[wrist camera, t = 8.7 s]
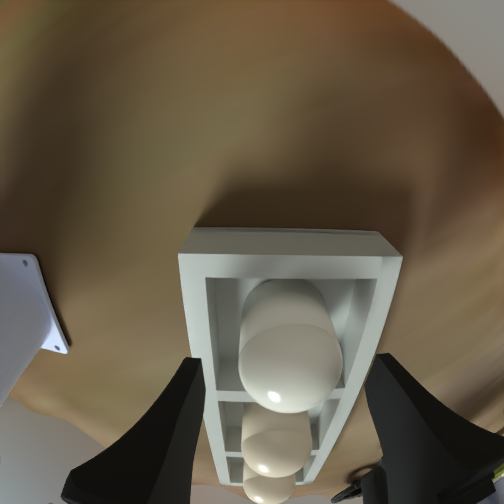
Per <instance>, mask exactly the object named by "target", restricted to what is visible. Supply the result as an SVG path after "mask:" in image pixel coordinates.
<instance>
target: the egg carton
mask: <svg viewBox="0 0 504 504" xmlns="http://www.w3.org/2000/svg"><path fill="white" fill-rule="evenodd" d="M402 259H403V256H402V255H401V254H400V253H399V252H398V251H397V250H396V249H395V248H394V247H393V246H392V245H391V244H390V243H389V242H388V241H387V240H386V239H385V238H384V237H383V236H382V235H381V234H380V233H379V232H378V231H363V230H336V229H302V228H252V227H193V228H192V230H191V232H190V233H189V235H188V237H187V239H186V240H185V242H184V244H183V245H182V247H181V249H180V251H179V252H178V260H179V269H180V278H181V286H182V294H183V301H184V309H185V316H186V323H187V329H188V336H189V342H190V348H191V354H192V358H201V360H202V367H203V373H204V380H205V386H206V396H205V406H204V413H203V416H204V421H205V425H206V429H207V434H208V438H209V442H210V446H211V450H212V454H213V458H214V462H215V466H216V470H217V474H218V477H219V481H220V485H233V486H243V488H244V491H245V493H246V495H247V496H248V497H249V498H250V499H251V500H253V501H254V502H256V503H258V504H279V503H281V502H283V501H285V500H287V499H288V498H289V497H290V496H291V495H292V493H293V491H294V489H295V485H301V484H312V482H313V481H314V479H315V477H316V476H317V474H318V472H319V471H320V469H321V467H322V465H323V464H324V462H325V460H326V458H327V457H328V455H329V453H330V451H331V449H332V447H333V445H334V444H335V442H336V440H337V438H338V436H339V434H340V432H341V430H342V428H343V426H344V424H345V422H346V420H347V418H348V415H349V413H350V411H351V409H352V407H353V405H354V402H355V400H356V398H357V396H358V393H359V391H360V389H361V386H362V384H363V381H364V379H365V376H366V374H367V371H368V369H369V366H370V364H371V361H372V358H373V356H374V353H375V350H376V348H377V345H378V342H379V339H380V336H381V333H382V330H383V327H384V324H385V321H386V318H387V315H388V311H389V308H390V305H391V301H392V298H393V294H394V291H395V287H396V283H397V279H398V275H399V271H400V267H401V263H402ZM271 279H302V280H305V281H307V282H309V283H311V284H312V285H314V286H315V287H316V288H317V289H318V290H319V291H320V292H321V294H322V296H323V298H324V300H325V303H326V306H327V309H328V312H329V315H330V317H331V320H332V323H333V326H334V329H335V332H336V335H337V338H338V341H339V344H340V347H341V352H342V361H343V363H342V372H341V376H340V379H339V381H338V383H337V385H336V387H335V389H334V390H333V392H332V393H331V394H330V395H329V396H328V397H327V398H326V399H325V400H324V401H323V402H322V403H320V404H319V405H317V406H316V407H314V408H312V409H309V410H307V411H303V412H299V413H279V412H275V411H272V410H269V409H267V408H265V407H263V406H261V405H260V404H258V403H257V402H256V401H254V400H253V399H252V398H251V397H250V395H249V394H248V393H247V391H246V390H245V388H244V386H243V384H242V382H241V379H240V376H239V370H238V358H239V343H240V330H241V316H242V307H243V303H244V301H245V299H246V297H247V296H248V294H249V293H250V292H251V291H252V290H253V289H254V288H255V287H257V286H258V285H260V284H262V283H263V282H266V281H268V280H271Z"/></svg>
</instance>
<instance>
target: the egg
mask: <svg viewBox="0 0 504 504" xmlns="http://www.w3.org/2000/svg"><path fill="white" fill-rule="evenodd" d="M342 363H343V361H342V352H341V347H340V344H339V341H338V338H337V335H336V332H335V329H334V326H333V323H332V320H331V317H330V315H329V312H328V309H327V306H326V303H325V300H324V298H323V296H322V294H321V292H320V291H319V290H318V289H317V288H316V287H315V286H314V285H312V284H311V283H309V282H307V281H305V280H302V279H271V280H268V281H266V282H263V283H262V284H260V285H258V286H257V287H255V288H254V289H253V290H252V291H251V292H250V293H249V294H248V296H247V297H246V299H245V301H244V303H243V307H242V316H241V330H240V343H239V358H238V370H239V376H240V379H241V382H242V384H243V386H244V388H245V390H246V391H247V393H248V394H249V395H250V397H251V398H252V399H253V400H254V401H256V402H257V403H258V404H260V405H261V406H263V407H265V408H267V409H269V410H272V411H275V412H279V413H299V412H303V411H307V410H309V409H312V408H314V407H316V406H317V405H319V404H320V403H322V402H323V401H324V400H325V399H326V398H327V397H328V396H329V395H330V394H331V393H332V392H333V390H334V389H335V387H336V385H337V383H338V381H339V379H340V376H341V372H342Z"/></svg>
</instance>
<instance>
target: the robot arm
mask: <svg viewBox="0 0 504 504" xmlns="http://www.w3.org/2000/svg"><path fill="white" fill-rule="evenodd" d="M26 261H27V262H26ZM40 348H44V349H48V350H52V351H56V352H60V353H64V354H67V353H68V351H69V346H68V344H67V341H66V339H65V337H64V334H63V332H62V330H61V327H60V325H59V322H58V320H57V317H56V315H55V312H54V309H53V307H52V304H51V301H50V298H49V296H48V293H47V290H46V287H45V284H44V281H43V277H42V274H41V271H40V267H39V264H38V261H37V258H36V257H35V256H34V255H33V254H18V253H0V407H1V406H2V404H3V402H4V401H5V399H6V398H7V396H8V394H9V393H10V391H11V390H12V388H13V387H14V385H15V384H16V382H17V381H18V379H19V378H20V376H21V375H22V373H23V372H24V370H25V369H26V367H27V366H28V365H29V363H30V362H31V360H32V359H33V358H34V356H35V355H36V353H37V352H38V351H39V349H40ZM364 387H365V392H366V398H367V402H368V407H369V410H370V413H371V416H372V419H373V422H374V425H375V428H376V431H377V434H378V437H379V441H380V444H381V447H382V451H383V456H384V462H385V469H386V477H387V486H388V504H504V477H502V478H501V479H499V480H498V481H496V482H495V483H493V481H492V479H494V478H495V474H494V472H493V471H495V470H496V469H497V468H498V467H500V466H501V465H502V464H503V463H504V436H501V435H498V434H495V433H492V432H490V431H487V430H485V429H483V428H481V427H479V426H477V425H475V424H473V423H471V422H469V421H467V420H466V419H464V418H462V417H461V416H459V415H458V414H456V413H455V412H453V411H452V410H450V409H449V408H448V407H446V406H445V405H444V404H442V403H441V402H440V401H439V400H437V399H436V398H435V397H434V396H433V395H432V394H430V393H429V392H428V391H427V390H426V389H425V388H424V387H423V386H422V385H421V384H420V383H419V382H418V381H417V380H416V379H415V378H414V377H413V376H412V375H411V374H410V373H409V372H408V371H407V370H406V369H405V368H404V367H403V366H402V365H401V364H400V363H399V362H398V361H397V360H396V359H395V358H394V357H393V356H392V355H391V354H390V353H384V354H377V355H376V357H375V360H374V362H373V365H372V368H371V370H370V373H369V375H368V377H367V380H366V382H365V385H364ZM205 396H206V386H205V380H204V373H203V367H202V360H201V358H191V357H186V358H185V359H184V360H183V362H182V363H181V365H180V367H179V368H178V370H177V372H176V373H175V375H174V376H173V378H172V379H171V381H170V382H169V384H168V385H167V386H166V388H165V389H164V391H163V392H162V393H161V395H160V396H159V397H158V399H157V400H156V401H155V402H154V404H153V405H152V406H151V407H150V408H149V410H148V411H147V412H146V413H145V414H144V415H143V416H142V418H141V419H140V420H139V421H138V422H137V423H136V424H135V425H134V426H133V427H132V428H131V429H130V430H129V431H127V432H126V433H125V434H124V435H123V436H122V437H121V438H120V439H118V440H117V441H116V442H115V443H113V444H112V445H111V446H109V447H108V448H107V449H105V450H104V451H102V452H101V453H100V454H98V455H97V456H95V457H94V458H92V459H90V460H89V461H87V462H85V463H83V464H82V465H80V466H78V467H76V468H74V469H72V470H71V471H70V473H69V475H68V477H67V479H66V482H65V485H64V488H63V491H62V493H61V498H62V500H64V501H65V502H66V503H68V504H190V494H191V480H192V469H193V461H194V455H195V450H196V445H197V441H198V436H199V432H200V427H201V423H202V418H203V413H204V406H205ZM48 504H52V503H48Z"/></svg>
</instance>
